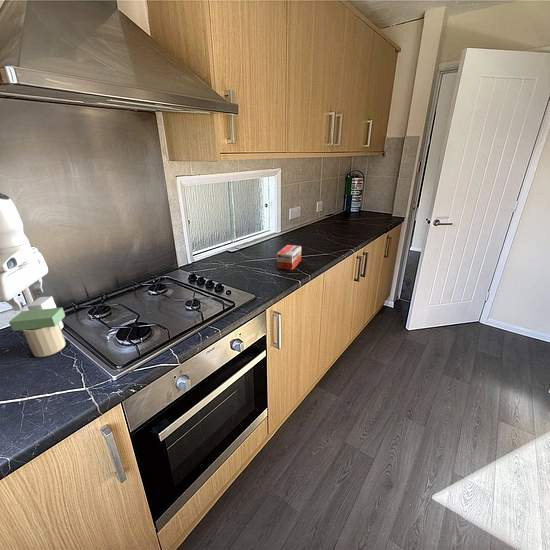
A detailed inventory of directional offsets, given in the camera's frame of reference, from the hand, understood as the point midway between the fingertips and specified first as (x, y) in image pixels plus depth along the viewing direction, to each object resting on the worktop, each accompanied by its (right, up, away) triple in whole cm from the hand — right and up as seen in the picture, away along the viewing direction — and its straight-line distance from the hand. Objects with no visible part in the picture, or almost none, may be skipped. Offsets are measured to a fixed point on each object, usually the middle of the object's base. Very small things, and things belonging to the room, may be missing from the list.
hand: (29, 301), depth 83 cm
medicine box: (+77, +13, +66) cm, 102 cm away
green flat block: (+1, -7, +3) cm, 7 cm away
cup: (+1, -15, +7) cm, 16 cm away
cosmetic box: (-5, -12, +15) cm, 19 cm away
